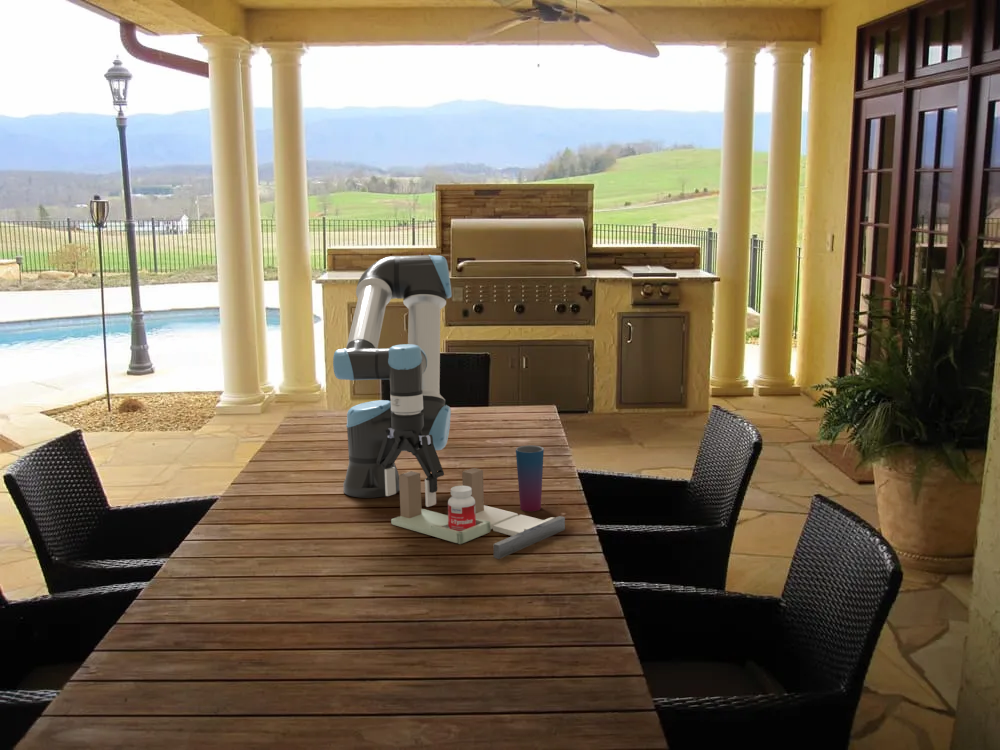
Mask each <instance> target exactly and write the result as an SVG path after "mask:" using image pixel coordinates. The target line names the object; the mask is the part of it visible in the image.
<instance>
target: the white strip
mask: <svg viewBox="0 0 1000 750" xmlns="http://www.w3.org/2000/svg"><path fill="white" fill-rule="evenodd" d="M553 518H555V517H553V516H552V517H548V518H546V519H540V518H536V517H532V516H529V515H525V514H518V516H516V517H513V518H511V519H508V520H506V521H504V522H501V523H499V524H496V525H494V526H493V529H492V530H493V532H496V533H501V534H504V535H508V536H510V537H511V536H513V535H516V534H518V533H520V532H523V531H525V530H527V529H530V528H532V527H535V526H537V525H539V524H542V523H544V522H546V521H549V520H551V519H553Z"/></svg>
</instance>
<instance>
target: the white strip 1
mask: <svg viewBox="0 0 1000 750" xmlns="http://www.w3.org/2000/svg"><path fill="white" fill-rule="evenodd" d="M461 474H462V486H469V487H471V488H472V495H471V496H472V497H473V498H474V499H475V512H476V518H478V519H482V520H485V521H489V522H490V531H491V530H493V526H494V525H496V524H499V523H501V522H504V521H506V520H508V519H511V518H513V517H516V516H518V515H519V514H518V513H517V512H513V511H510V510H509V511H508V510H504V509H501V508H497V507H493V506H488V505H485V497H484V496H485V495H484V492H485V491H484V470H483V469H480V468H476V467H472V468H469V469H467V470H463V471H462V473H461Z"/></svg>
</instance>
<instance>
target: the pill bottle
mask: <svg viewBox="0 0 1000 750" xmlns="http://www.w3.org/2000/svg"><path fill="white" fill-rule="evenodd" d="M450 495H451V496H450V497H449V498H448V500H447V515H448V528H449V529H452V530H456V531H462V530H465V529H468V528H470V527H473V526H475V525H476V512H475V499H474V498H473V497H472V496H471V495H472V488H471V487H469V486H463V485H455V486H452V487H451V488H450Z"/></svg>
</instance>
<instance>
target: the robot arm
mask: <svg viewBox="0 0 1000 750" xmlns="http://www.w3.org/2000/svg"><path fill="white" fill-rule="evenodd" d="M449 270H450V269H449V264H448V261H447V259H446V257H444V256H442V255H435V254H434V255H431V254H428V255H427V254H426V255H390V256H385V257H383V258H380V259H378V260H377V261H375V262H374V263H372V264H371V265H370V266H369V267H368V268H366V270H364V272H363V273H362V274H361V276H360V278H359V280H358V282H357V285H356V288H355V296H356V298H357V301H356V304H355V305H356V306H355V309H354V314H353V318H352V321H351V327H350V330H349V335H348V338H347V343H346V346H345V347H343V348H339V349H336V350H335V351H334V354H333V357H332V359H333V361H332V366H333V374H334V376H335V378H336V379H338V380H341V381H342V380H343V381H344V380H345V381H364V380H365V381H368V380H374V381H375V380H389V388H390V391H389V394H390V400H388V399H387V400H386V399H385V400H384V399H380V400H378V399H377V400H372V401H366V402H361V403H359V404H356V405H353V406H352V407H350V408H349V409H348V411H347V413H346V425H345V427H346V430H347V431H346V432H347V447H348V448H347V449H348V464H347V465H348V466H347V469H346V475H345V479H344V480H343V483H342V485H343V493H344V494H345V495H347V496H350V497H352V498H360V499H361V498H362V499H363V498H365V499H367V498H368V499H371V498H372V499H373V498H381V497H390V496H393V495H396V494H397V493H399V492H400V488H399V475H400V473H399V471H398V468H397V466H396V463H395V462H396V461H397V458H398V457H399V456H400V454H401V453H402V452H406V453H411V455H412V456H415V458H416V460H417V462H418V463H419V465H420V467H421V469H422V471H423V473H424V474H425V476H426V478H424V491H425V493H424V495H425V507H426V508H429V507H432V506H435V505H437V492H438V478H439V477H440V478H441V477H444V475H445V472H444V470H443V467H442V465H441V461H440V458H439V456H438V454H437V451H441V450H444V449H445V447H446V446H447V444H448V439H449V434H450V427H451V416H452V413H451V412H452V411H451V407H450V406H449V405H447V404H446V399H445V398H444V397H443V396H442V395H441V393H440V390H441V389H440V379H441V377H440V375H441V373H440V372H441V368H440V367H441V363H440V362H441V310H442V309H443V308H444V307H446V305H447V299H450V298H452V296H453V295H452V283H451V277H450V272H449ZM393 299H400V300H401V299H402V301H403V302H402V303H403V305H404V306H405V307H406V308H407V309H408V323H407V324H408V325H407V328H408V329H407V330H408V331H407V334H408V335H407V343H406V344H405V343H404V344H403V343H401V344H395V345H392V346H391V347H388V348H387V347H386V348H383V347H381V348H379V344H380V337H381V333H382V332H381V331H382V327H383V323H384V317H385V312H386V307H387V305H389V303H390V302H391V300H393Z"/></svg>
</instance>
